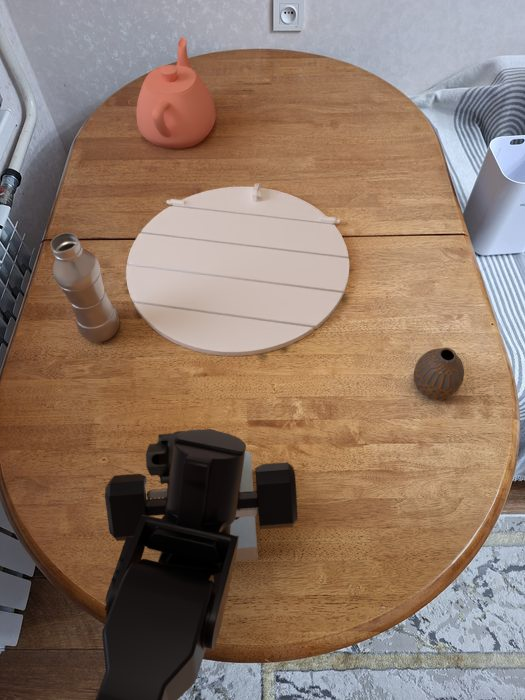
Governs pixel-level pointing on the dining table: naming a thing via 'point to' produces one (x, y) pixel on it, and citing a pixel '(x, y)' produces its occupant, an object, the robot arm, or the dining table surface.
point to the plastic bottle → (84, 288)
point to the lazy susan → (237, 270)
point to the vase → (439, 373)
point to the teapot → (175, 105)
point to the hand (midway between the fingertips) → (208, 468)
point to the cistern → (246, 519)
